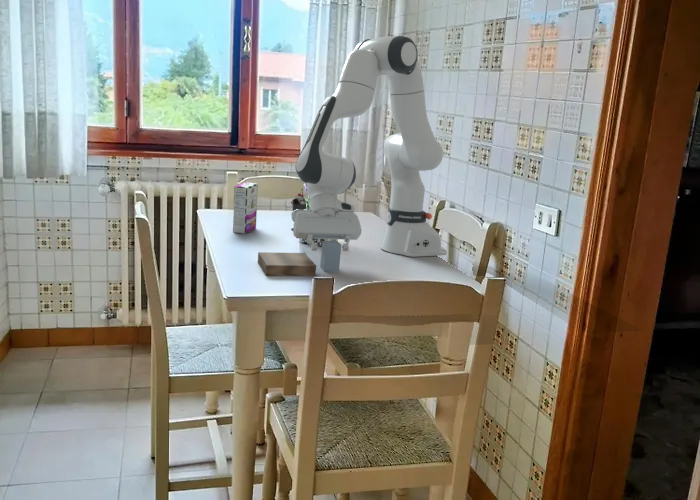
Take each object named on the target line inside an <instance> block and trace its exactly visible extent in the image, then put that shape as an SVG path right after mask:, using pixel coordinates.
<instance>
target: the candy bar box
mask: <svg viewBox="0 0 700 500" xmlns="http://www.w3.org/2000/svg"><path fill="white" fill-rule="evenodd" d="M258 185H259V184H258V183H256V182H247V181H246V182H243V183H239V184H238V185H235V186H234V187H233V189H234V190H233V191H234V192H233V194H234V195H233V220H232V221H233V222H232V224H233V227H232V233H235V234H241V235H242V234H243V235H246V234H248V233H250V232H251V231H253V230H255V229H256V228H257V209H258V208H257V207H258V188H259V187H258Z"/></svg>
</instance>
